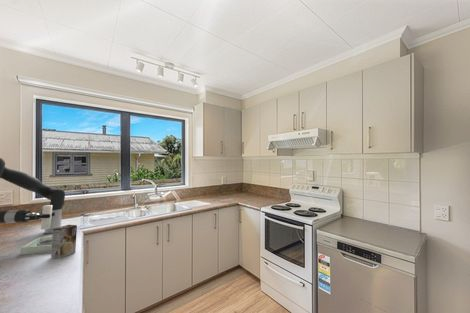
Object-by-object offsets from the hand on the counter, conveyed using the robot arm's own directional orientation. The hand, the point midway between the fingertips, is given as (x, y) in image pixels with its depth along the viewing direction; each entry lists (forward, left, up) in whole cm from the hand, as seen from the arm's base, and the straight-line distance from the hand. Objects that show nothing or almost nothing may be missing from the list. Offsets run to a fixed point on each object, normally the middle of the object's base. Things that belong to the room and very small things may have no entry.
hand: (52, 215), depth 127 cm
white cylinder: (0, -3, -8) cm, 8 cm away
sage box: (0, -1, -20) cm, 20 cm away
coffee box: (+15, +14, -20) cm, 29 cm away
